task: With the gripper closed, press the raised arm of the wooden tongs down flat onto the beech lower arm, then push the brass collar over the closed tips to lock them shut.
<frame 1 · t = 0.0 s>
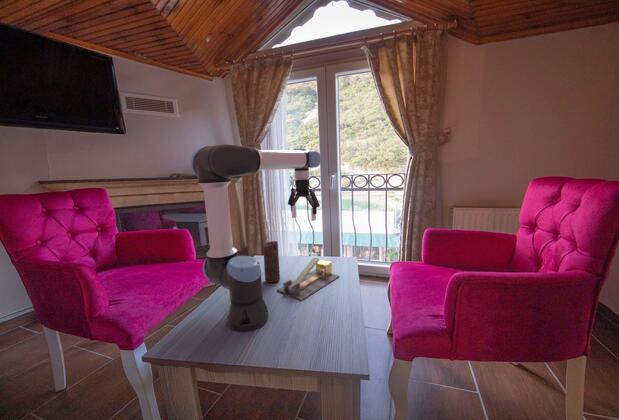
hand: (303, 219, 140), 28 cm above the table, fingers open, 13 cm apart
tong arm: (304, 273, 123), point 6 cm above the table, hinge at 25.0°
brown wooden block: (272, 281, 132), on the table
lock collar: (323, 268, 135), point 4 cm above the table, slide at 0.0 cm
tongs base: (292, 293, 118), on the table
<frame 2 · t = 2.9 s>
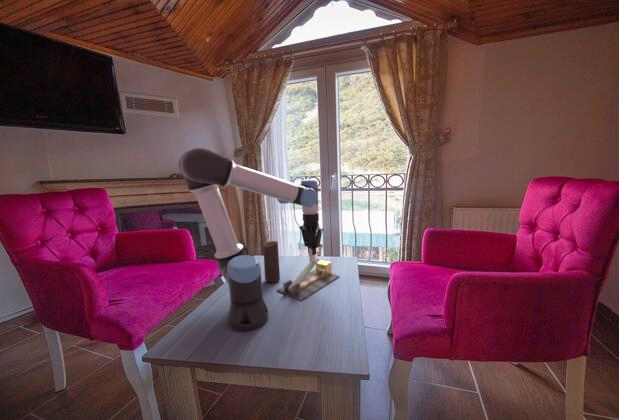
hand: (312, 260, 127), 11 cm above the table, fingers closed
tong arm: (304, 273, 123), point 6 cm above the table, hinge at 25.0°, touching gripper
everything else where it was.
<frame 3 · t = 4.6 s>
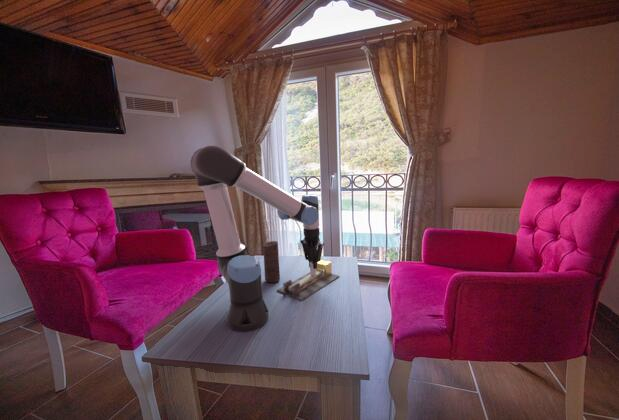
hand: (313, 274, 129), 4 cm above the table, fingers closed
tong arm: (305, 280, 125), point 3 cm above the table, hinge at 2.6°, touching gripper
everything else where it was.
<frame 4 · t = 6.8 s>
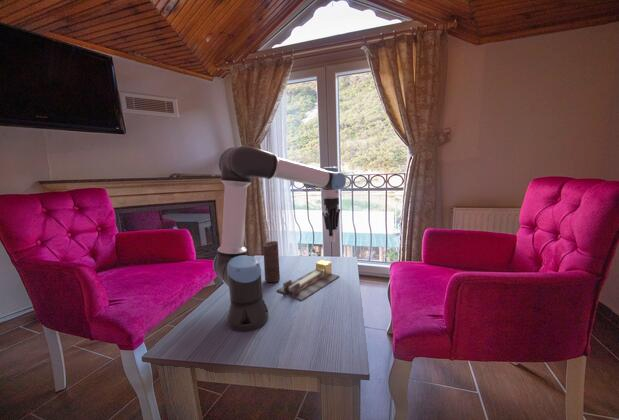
hand: (332, 241, 139), 16 cm above the table, fingers closed
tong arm: (305, 280, 125), point 3 cm above the table, hinge at 2.4°
everything else where it was.
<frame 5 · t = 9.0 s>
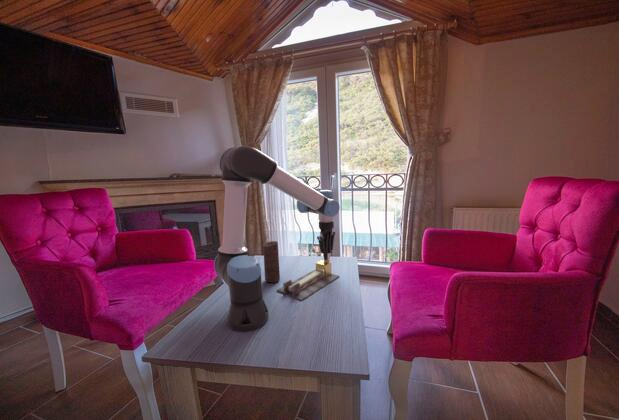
hand: (327, 264, 138), 5 cm above the table, fingers closed
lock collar: (323, 268, 135), point 4 cm above the table, slide at 0.2 cm, touching gripper
everything else where it was.
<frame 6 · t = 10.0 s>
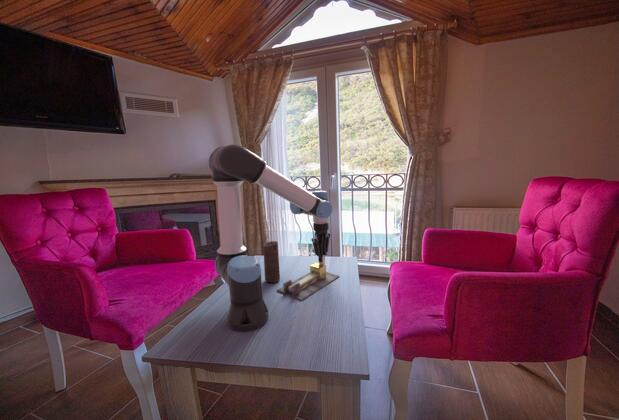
hand: (322, 267, 134), 5 cm above the table, fingers closed
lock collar: (318, 271, 132), point 4 cm above the table, slide at 4.6 cm, touching gripper
everything else where it was.
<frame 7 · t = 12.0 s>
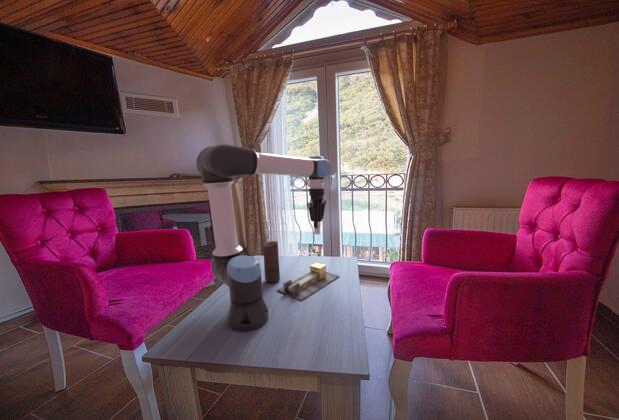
hand: (317, 233, 135), 21 cm above the table, fingers closed
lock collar: (318, 271, 132), point 4 cm above the table, slide at 4.7 cm
everything else where it was.
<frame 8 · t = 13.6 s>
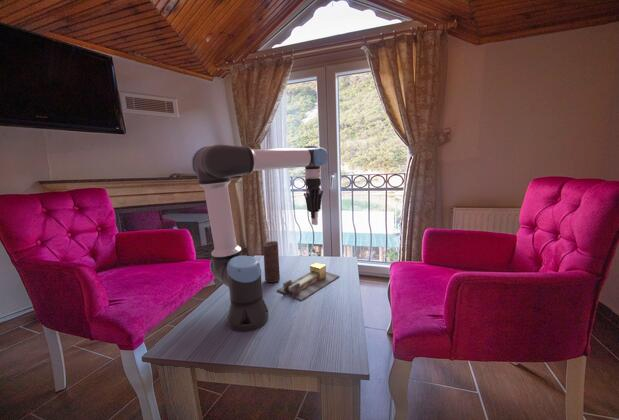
hand: (314, 224, 134), 26 cm above the table, fingers closed
nothing on the table moved.
at the end: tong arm at +2° (first picture: +25°); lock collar slide at 4.7 cm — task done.
